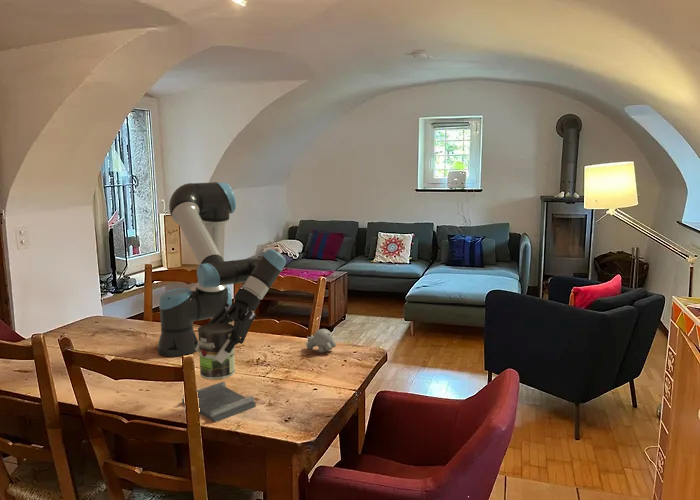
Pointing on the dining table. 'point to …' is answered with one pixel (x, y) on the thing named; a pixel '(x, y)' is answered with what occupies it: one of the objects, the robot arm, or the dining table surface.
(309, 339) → the round bodied animal figurine
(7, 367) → the dining table surface
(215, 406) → the plate
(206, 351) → the coffee can
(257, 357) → the dining table surface
